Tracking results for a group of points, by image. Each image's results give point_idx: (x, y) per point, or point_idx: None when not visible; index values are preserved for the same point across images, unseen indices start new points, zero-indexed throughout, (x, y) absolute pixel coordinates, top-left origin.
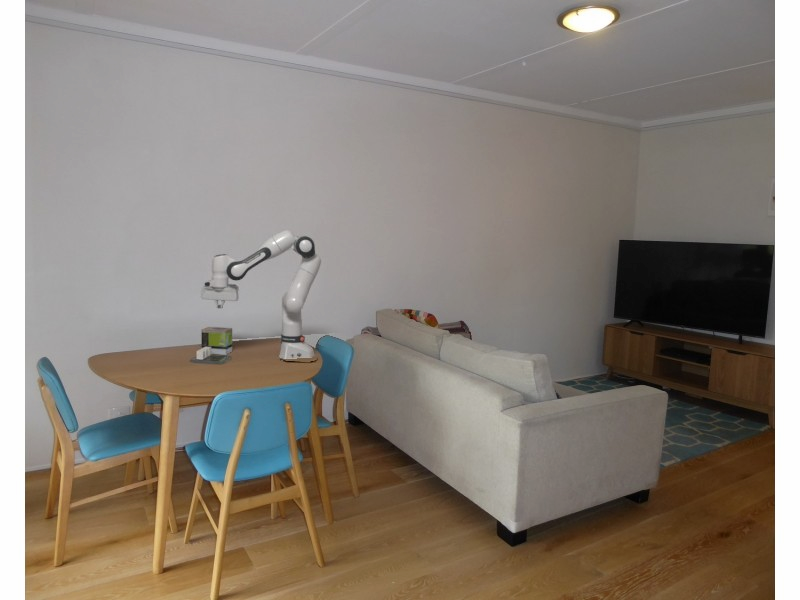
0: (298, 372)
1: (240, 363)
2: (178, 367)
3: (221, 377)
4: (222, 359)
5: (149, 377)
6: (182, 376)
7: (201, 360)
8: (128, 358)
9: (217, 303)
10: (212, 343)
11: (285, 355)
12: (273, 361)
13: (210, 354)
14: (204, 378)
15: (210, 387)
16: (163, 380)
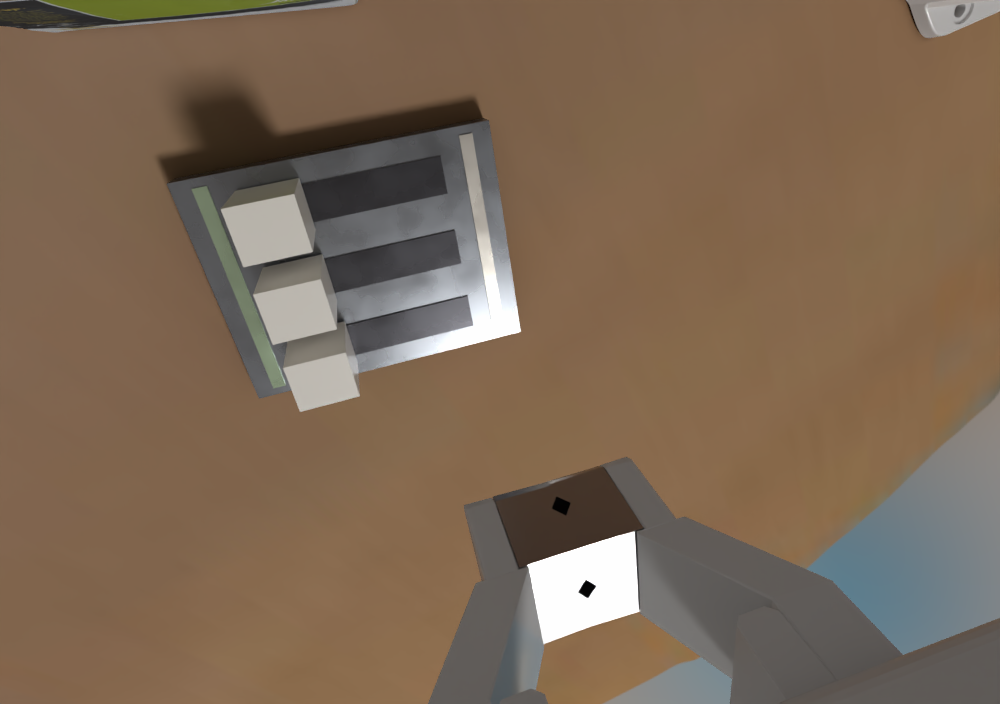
0: (988, 264)
1: (617, 231)
2: (298, 513)
3: None
4: (485, 273)
5: (320, 692)
6: (454, 609)
7: None
8: None
9: (523, 671)
10: (168, 14)
11: (966, 3)
12: (830, 48)
13: (305, 200)
14: None
15: (654, 639)
16: (418, 683)
